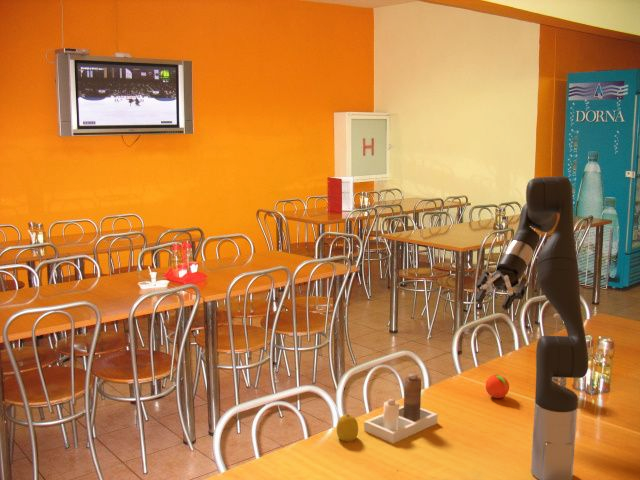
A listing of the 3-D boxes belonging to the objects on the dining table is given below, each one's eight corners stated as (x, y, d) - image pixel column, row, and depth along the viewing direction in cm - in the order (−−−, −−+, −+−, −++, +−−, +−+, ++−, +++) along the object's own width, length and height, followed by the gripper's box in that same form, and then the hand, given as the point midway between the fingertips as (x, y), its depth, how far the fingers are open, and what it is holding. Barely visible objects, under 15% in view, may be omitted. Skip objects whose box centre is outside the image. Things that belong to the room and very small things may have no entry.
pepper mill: (420, 425, 183) (422, 378, 181) (403, 425, 183) (405, 377, 181) (419, 418, 187) (420, 372, 185) (403, 418, 187) (404, 371, 185)
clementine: (515, 401, 203) (517, 378, 202) (496, 404, 201) (497, 381, 200) (499, 391, 211) (500, 369, 210) (480, 394, 208) (481, 372, 207)
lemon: (356, 449, 172) (356, 419, 171) (334, 447, 173) (334, 417, 172) (359, 440, 177) (360, 410, 176) (338, 437, 179) (338, 408, 177)
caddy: (408, 416, 192) (408, 403, 191) (437, 428, 185) (437, 414, 184) (363, 435, 180) (364, 421, 179) (392, 448, 173) (393, 433, 172)
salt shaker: (399, 434, 177) (400, 402, 176) (383, 434, 177) (384, 402, 176) (397, 427, 181) (398, 396, 180) (381, 427, 181) (383, 396, 180)
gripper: (489, 249, 201) (464, 293, 195) (533, 255, 191) (508, 302, 185) (498, 264, 206) (474, 308, 200) (542, 271, 195) (518, 318, 189)
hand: (491, 305), depth 192 cm, fingers open, 8 cm apart
